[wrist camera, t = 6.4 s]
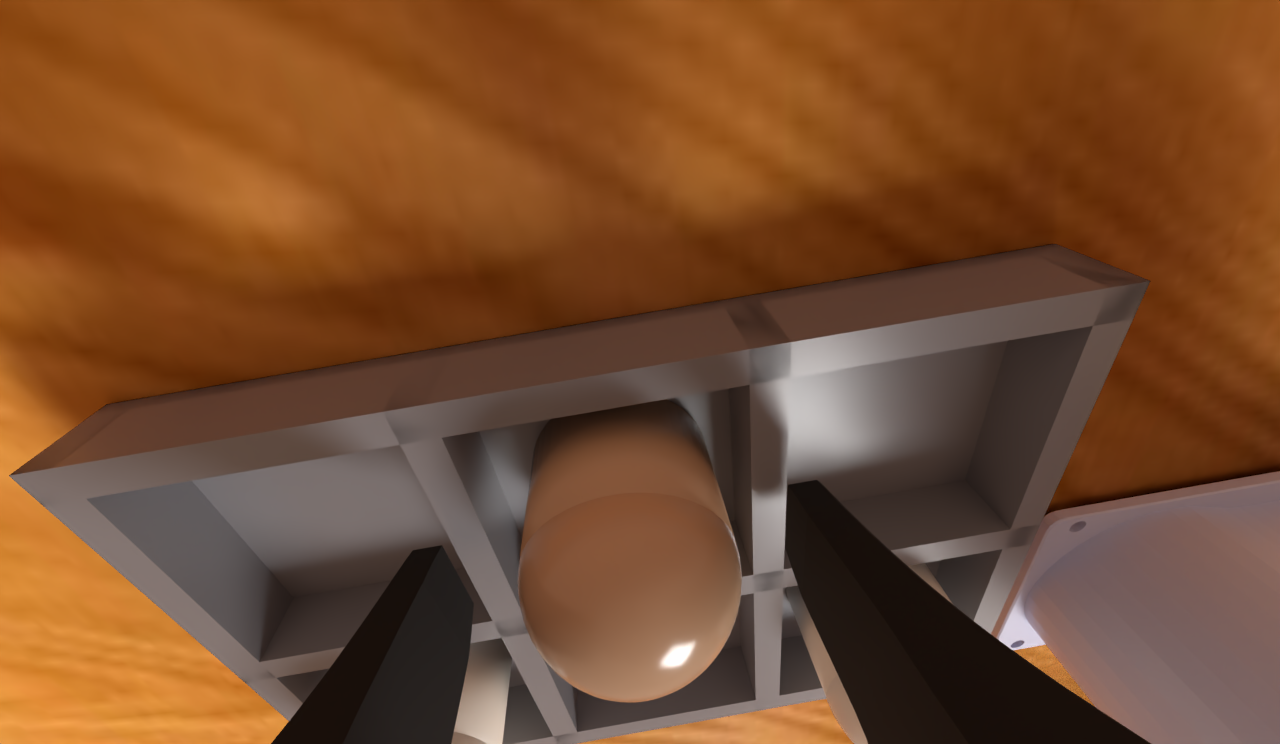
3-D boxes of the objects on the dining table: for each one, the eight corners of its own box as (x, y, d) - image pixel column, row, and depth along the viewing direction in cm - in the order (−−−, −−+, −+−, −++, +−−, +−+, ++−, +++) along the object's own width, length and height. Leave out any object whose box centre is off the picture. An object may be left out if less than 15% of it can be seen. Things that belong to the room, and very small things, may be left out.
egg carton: (1055, 244, 11) (1427, 388, 6) (935, 611, 19) (1059, 804, 14) (106, 404, 11) (-283, 688, 6) (381, 710, 19) (310, 942, 14)
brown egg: (700, 376, 11) (774, 585, 7) (710, 506, 14) (771, 726, 9) (511, 407, 11) (463, 637, 7) (554, 532, 14) (539, 764, 9)
